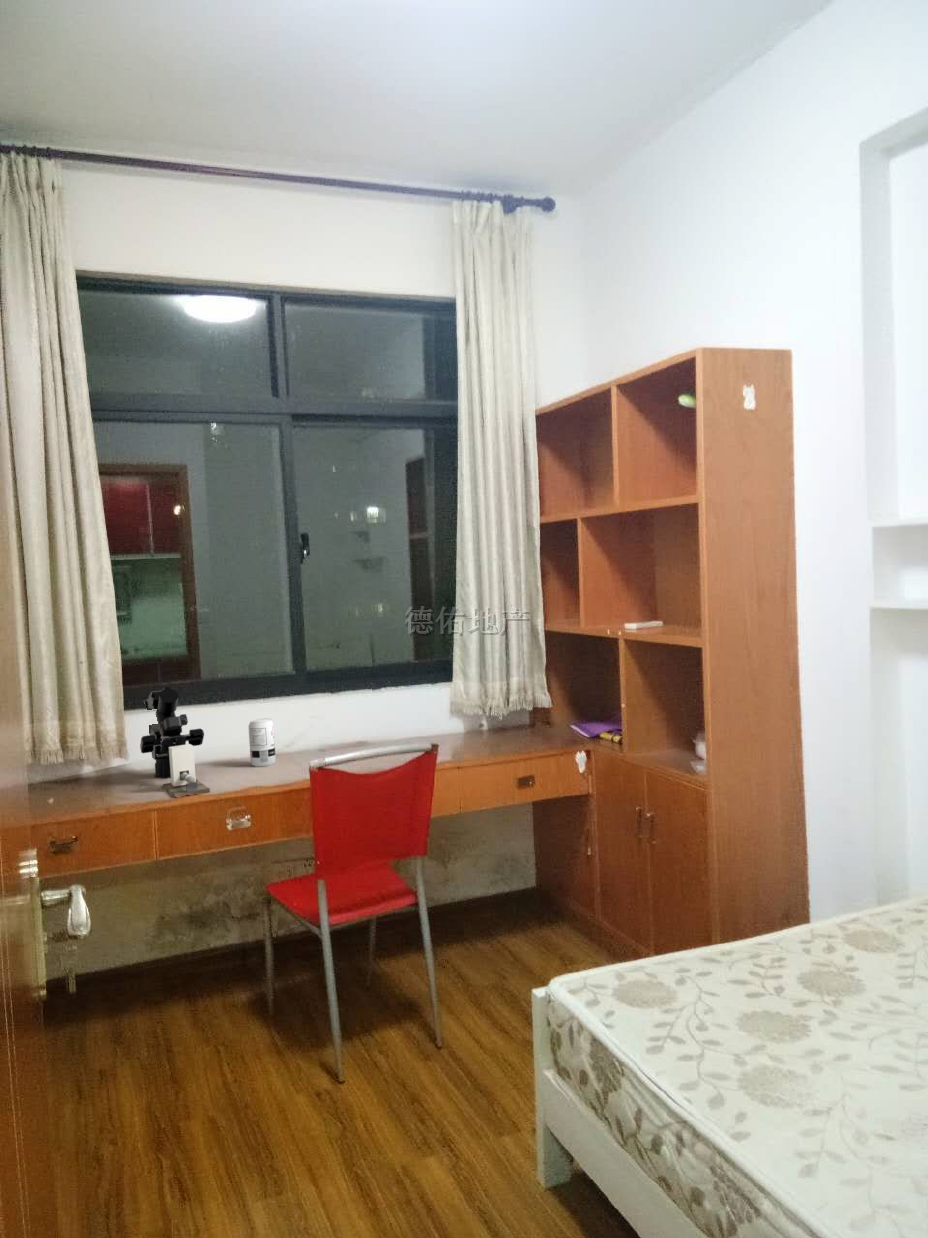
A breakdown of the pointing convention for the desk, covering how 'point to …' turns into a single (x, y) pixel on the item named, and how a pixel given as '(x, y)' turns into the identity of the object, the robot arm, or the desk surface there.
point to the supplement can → (262, 742)
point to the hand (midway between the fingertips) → (178, 762)
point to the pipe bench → (186, 786)
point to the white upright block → (181, 763)
